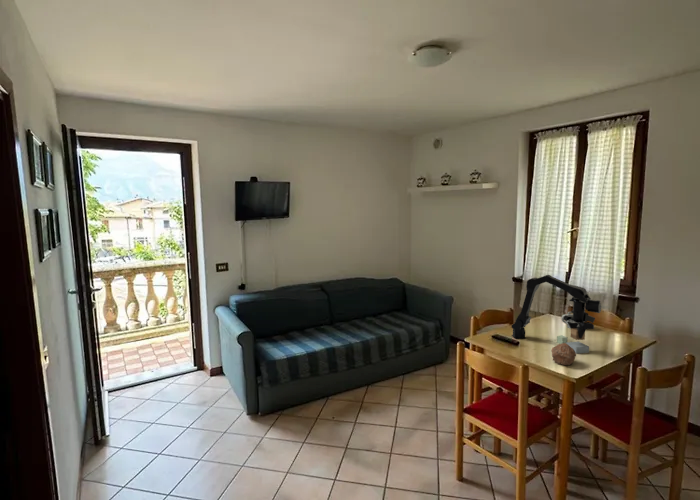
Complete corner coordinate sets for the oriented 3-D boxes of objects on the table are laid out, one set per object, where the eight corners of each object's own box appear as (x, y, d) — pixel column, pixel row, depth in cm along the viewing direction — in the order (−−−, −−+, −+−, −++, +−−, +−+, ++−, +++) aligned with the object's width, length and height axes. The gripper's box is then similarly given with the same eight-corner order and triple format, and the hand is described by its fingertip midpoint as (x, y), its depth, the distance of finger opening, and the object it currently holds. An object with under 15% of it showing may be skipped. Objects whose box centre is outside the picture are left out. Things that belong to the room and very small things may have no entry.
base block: (576, 354, 213) (576, 347, 213) (565, 349, 221) (566, 342, 220) (588, 353, 214) (589, 346, 214) (578, 348, 222) (578, 341, 222)
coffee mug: (586, 327, 259) (586, 313, 258) (581, 331, 252) (582, 316, 251) (564, 323, 268) (565, 309, 267) (559, 326, 262) (560, 312, 261)
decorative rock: (556, 356, 209) (557, 338, 208) (579, 362, 201) (580, 344, 200) (546, 363, 201) (547, 344, 200) (569, 369, 192) (570, 350, 191)
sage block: (562, 344, 228) (562, 338, 228) (556, 342, 232) (556, 335, 231) (567, 343, 229) (567, 337, 229) (561, 341, 233) (562, 335, 233)
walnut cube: (575, 339, 214) (576, 331, 214) (570, 336, 219) (570, 328, 219) (584, 339, 214) (585, 331, 214) (579, 336, 219) (579, 328, 219)
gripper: (604, 313, 206) (602, 341, 208) (582, 305, 225) (580, 331, 226) (584, 314, 206) (582, 342, 207) (563, 305, 224) (562, 331, 226)
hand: (577, 336), depth 217 cm, fingers closed on walnut cube, 5 cm apart
